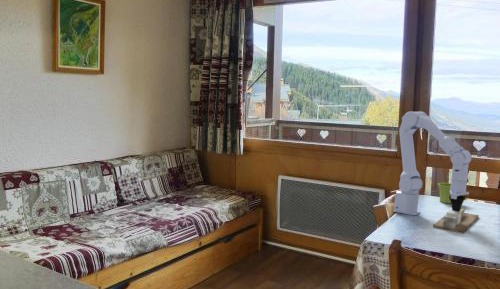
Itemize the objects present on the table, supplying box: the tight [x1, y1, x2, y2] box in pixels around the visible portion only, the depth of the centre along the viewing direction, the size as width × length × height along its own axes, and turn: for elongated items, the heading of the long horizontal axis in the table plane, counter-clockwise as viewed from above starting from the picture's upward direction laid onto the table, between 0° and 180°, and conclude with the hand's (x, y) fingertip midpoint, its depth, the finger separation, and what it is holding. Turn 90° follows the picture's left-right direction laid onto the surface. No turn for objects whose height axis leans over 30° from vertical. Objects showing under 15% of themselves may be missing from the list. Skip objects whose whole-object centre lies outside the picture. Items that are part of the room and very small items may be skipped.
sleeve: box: [446, 209, 461, 225], centre depth 185 cm, size 4×5×4 cm
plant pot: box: [437, 182, 451, 205], centre depth 225 cm, size 9×9×9 cm
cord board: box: [432, 208, 479, 234], centre depth 190 cm, size 11×30×5 cm, turn 144°
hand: (455, 213), depth 187 cm, fingers closed
